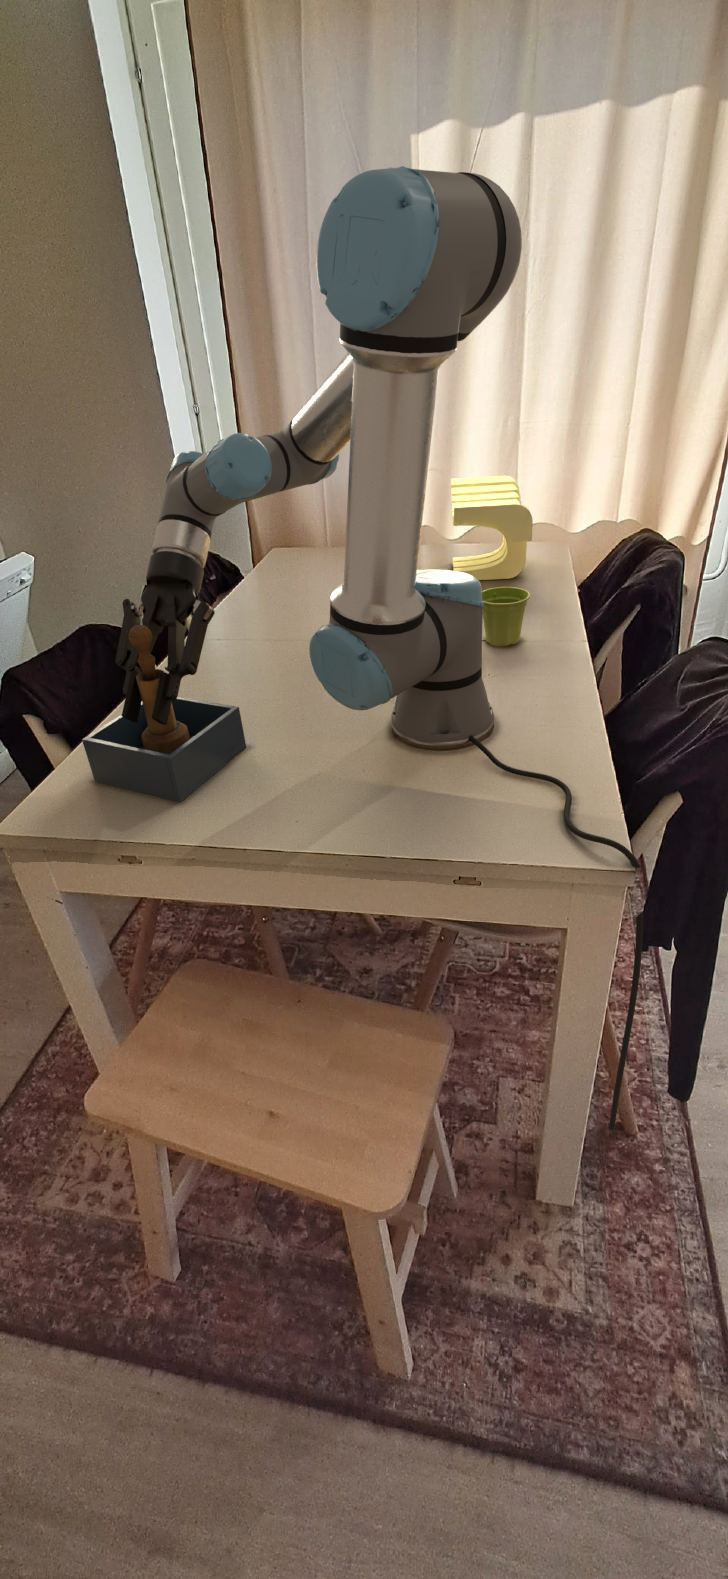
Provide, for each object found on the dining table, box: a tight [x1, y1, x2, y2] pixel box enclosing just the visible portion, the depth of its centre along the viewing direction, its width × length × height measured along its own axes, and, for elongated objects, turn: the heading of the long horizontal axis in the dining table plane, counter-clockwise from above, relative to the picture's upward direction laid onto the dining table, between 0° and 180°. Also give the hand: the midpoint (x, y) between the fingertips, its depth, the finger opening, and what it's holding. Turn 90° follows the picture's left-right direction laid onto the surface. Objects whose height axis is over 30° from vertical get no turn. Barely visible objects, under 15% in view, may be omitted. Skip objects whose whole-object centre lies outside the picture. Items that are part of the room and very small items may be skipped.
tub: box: [81, 696, 247, 803], centre depth 110 cm, size 16×16×7 cm
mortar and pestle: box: [129, 624, 190, 755], centre depth 105 cm, size 7×6×18 cm
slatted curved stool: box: [450, 475, 534, 581], centre depth 173 cm, size 30×16×18 cm, turn 176°
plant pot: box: [482, 586, 531, 647], centre depth 139 cm, size 9×9×9 cm
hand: (144, 720), depth 104 cm, fingers closed on mortar and pestle, 4 cm apart
